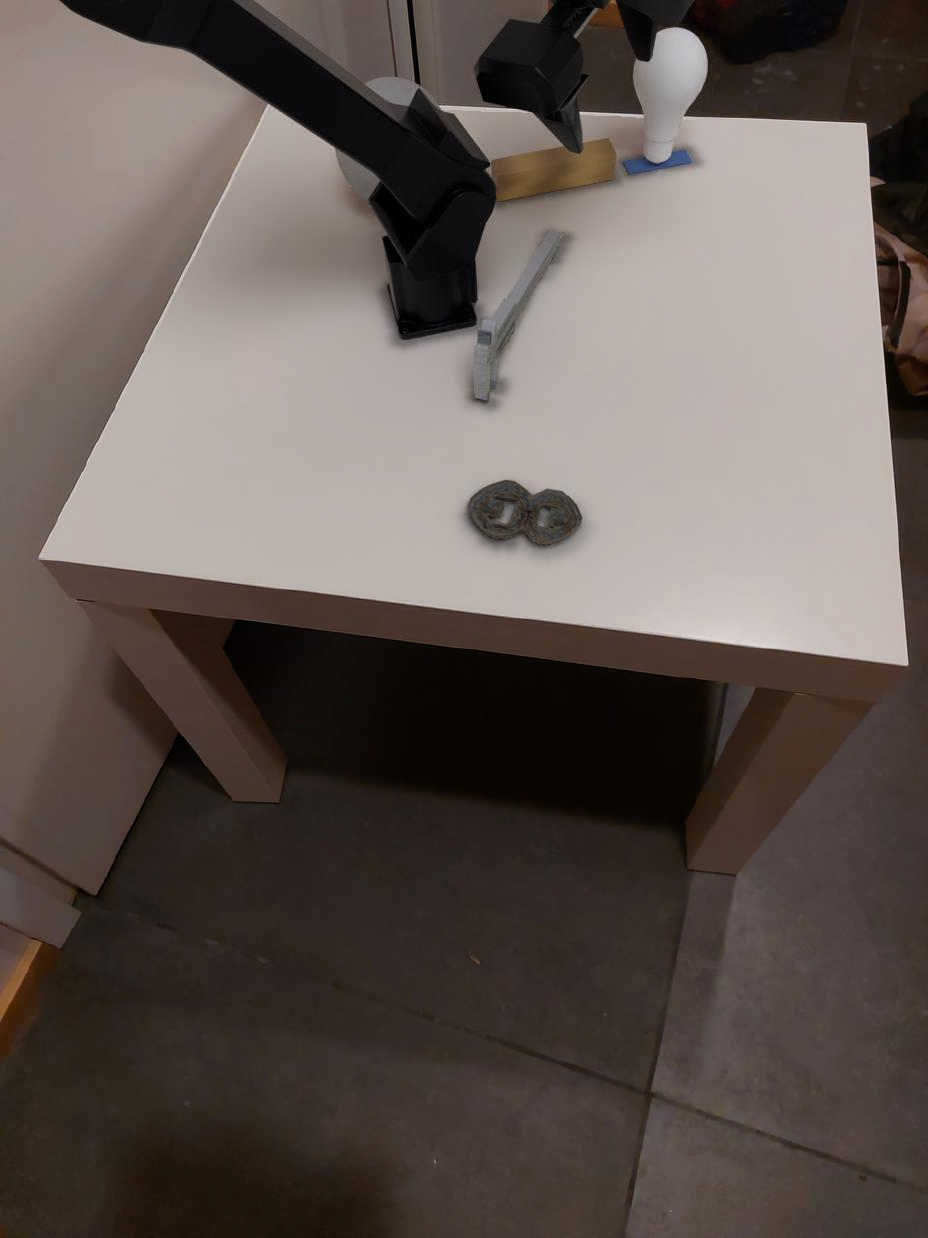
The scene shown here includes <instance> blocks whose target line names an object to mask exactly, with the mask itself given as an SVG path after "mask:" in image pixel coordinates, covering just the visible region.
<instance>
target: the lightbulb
mask: <svg viewBox="0 0 928 1238" xmlns="http://www.w3.org/2000/svg"><path fill="white" fill-rule="evenodd" d="M707 54H708V53H707V51H706V49H705V46H704V44H703V43H702V41H701V40H700V38H699V37H698V36H697V35H696V34H695V33H693V32H692V31H691V30H689V29H686V28H683V27H666V28H664V29H662V30H659V31H657V34H656V39H655V45H654V50H653V56H652V58H651V60H650V61H649V62H643V61H639V60H637V58H636V57H635V61H634V63H633V71H632V79H633V81H632V82H633V87H634V89H635V93H636V96H637V99H638V102H639V103H640V106H641V109H642V115H643V118H642V119H643V127H642V128H643V129H642V132H643V135H644V140H643V157H646V159H648V160H649V161H651V162H652V163H655V164H657V163H660V162H663V161H666V160H667V159H668V158H669V157H670V156H671V153H672V152H673V148H674V144H675V139H676V138H677V136H678V134H679V132H680V128H681V124H682V121H683V118H684V116H685V115H686V113H687V111H688V109H689V108H690V107H691V105H692V104H693V103H694V102H695V100H696V99H697V97H698V96H699V94H700V93H701V92H702V90H703V87H704V84H705V82H706V80H707V76H708V65H709V64H708V55H707Z"/></svg>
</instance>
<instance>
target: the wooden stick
mask: <svg viewBox="0 0 928 1238" xmlns="http://www.w3.org/2000/svg"><path fill="white" fill-rule="evenodd" d="M617 156H618V153H617V151H616V149H615V147H614V144H612V141H611V140H610V138H609V137H606V138H605V137H604V138H601V139H595V140H590V141H583V151H582V152H581V153H580V154H577V153H573V152H570V151H568V150H567V149H566V148H565V147H564V145H562V146H557V147H553V148H546V149H540V150H536V151H531V152H525V153H520V154H515V155H510V156H504V157H499V158H492V159H490V163H491V166H490V176H491V178H492V179H493V180H494V182H495V184H496V187H497V192H496V202H504V201H508V200H513V199H514V200H515V199H520V198H525V197H530V196H535V195H541V194H545V193H551V192H556V191H561V190H566V189H572V188H577V187H583V186H588V185H593V184H599V183H603V182H608V181H613V180H614V179H615V175H616V164H617V158H618V157H617Z"/></svg>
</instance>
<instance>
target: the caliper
mask: <svg viewBox="0 0 928 1238" xmlns="http://www.w3.org/2000/svg"><path fill="white" fill-rule="evenodd" d="M563 236H564V232H561V231H557V230H548V231H547V232H546V234H545V236H544V237H543V239H542V241H541V242H540V244H539V246H538V247H537V249H536V250H535V252H534V254H533V256H532V257H531V259H530V260H529V262H528V263H527V265H526V267H525V268H524V270H523V272H522V273H521V275H520V276H519V278H518V279H517V281H516V283H515V285H514V286H513V288H512V290H511V291H510V293H509V295H508V296H507V298H503V299H502V301H501V302H500V304H499V306H498V308H497V309H496V311H494V314H493V315H492V316H491V319H485V318H483V320H482V324H481V327H477V338H476V343H475V345H474V347H473V349H474V350H473V365H472V366H473V367H472V375H473V393H474V398H475V399H480V400H483V401H489V400H490V390H495V389H496V387H497V381H498V374H499V369H500V360H501V355H502V349H503V347H504V346H506V345H507V344H508V343H509V341H510V339H511V337H512V335H514V333H515V327H516V322H517V319H518V317H520V314H521V312H522V311H523V309H524V308H525V306H526V305H527V302H528V301H529V299H530V297H531V295H532V294H533V292H534V290H535V289H536V287H537V285H538V284H539V282H540V281H541V279H542V277H543V275H544V273H545V272H546V270H547V269H548V267H549V265H550V264H551V262H552V261H553V259H554V257H555V255H556V253H557V252H558V250H559V245H560V242H561V240H562V238H563Z"/></svg>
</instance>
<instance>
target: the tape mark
mask: <svg viewBox="0 0 928 1238" xmlns="http://www.w3.org/2000/svg"><path fill="white" fill-rule="evenodd" d="M622 164H623V167H624V168H625V169H626V172H627V174H628V175H634V174H638V173H644V172H649V171H654V170H661V169H665V168H670V167H675V166H681V165H686V164H692V159H691V156H690V155H689V154H688V152H687V150H686V149H685V148H684V149H681V150H675V151H672V153H671V156H670V157H669V158H668V159H667V160H666V161H663V162H660V163H657V164H655V163H652V162H651V161H649V160H648V159H646V157H645V156H643V157H636V158H633V159H632V158H631V159H627V160H623V161H622Z"/></svg>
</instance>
